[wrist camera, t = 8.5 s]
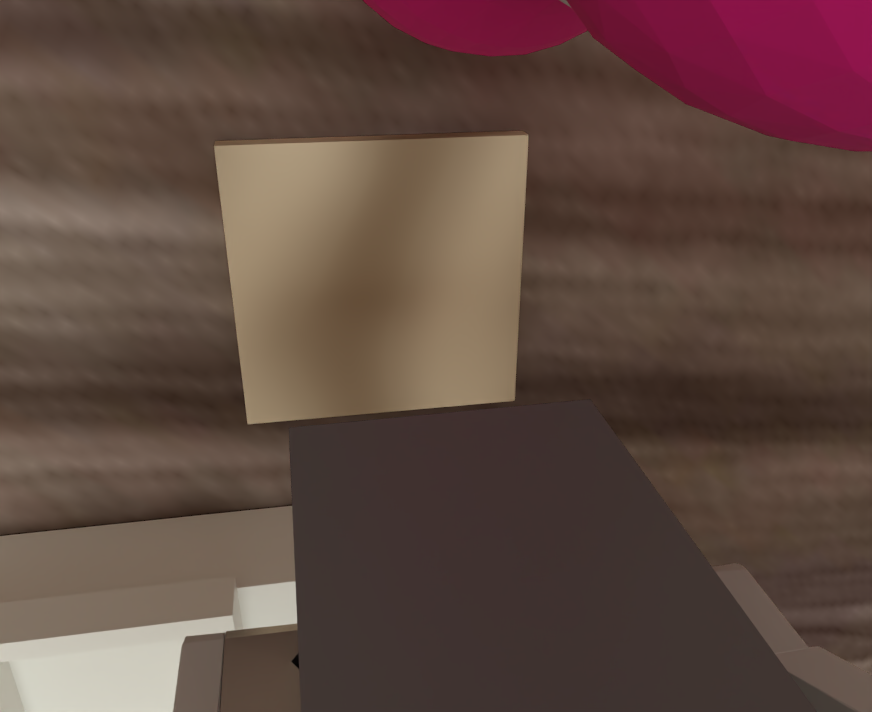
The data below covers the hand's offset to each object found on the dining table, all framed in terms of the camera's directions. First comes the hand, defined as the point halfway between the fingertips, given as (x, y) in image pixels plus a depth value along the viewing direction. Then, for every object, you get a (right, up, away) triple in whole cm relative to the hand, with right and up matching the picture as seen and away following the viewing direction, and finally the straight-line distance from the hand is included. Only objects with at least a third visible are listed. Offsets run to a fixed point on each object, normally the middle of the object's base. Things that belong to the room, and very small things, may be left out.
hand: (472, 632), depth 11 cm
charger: (0, +1, +2) cm, 2 cm away
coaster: (-2, +6, +12) cm, 13 cm away
